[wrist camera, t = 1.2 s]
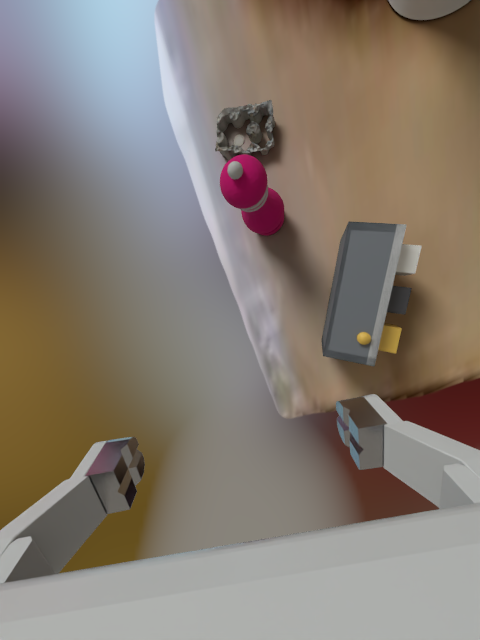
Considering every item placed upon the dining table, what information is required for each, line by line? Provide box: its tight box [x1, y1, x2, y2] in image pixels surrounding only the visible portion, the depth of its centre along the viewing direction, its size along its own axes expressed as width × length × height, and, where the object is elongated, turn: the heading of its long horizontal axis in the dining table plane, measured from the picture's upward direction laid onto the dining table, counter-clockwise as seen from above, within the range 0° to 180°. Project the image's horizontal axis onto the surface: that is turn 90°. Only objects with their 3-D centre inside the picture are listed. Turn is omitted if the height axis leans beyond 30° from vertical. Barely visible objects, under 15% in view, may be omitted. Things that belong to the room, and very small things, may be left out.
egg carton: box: [215, 100, 275, 161], centre depth 44 cm, size 11×8×4 cm
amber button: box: [378, 323, 402, 353], centre depth 36 cm, size 4×4×4 cm
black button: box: [387, 286, 411, 314], centre depth 35 cm, size 4×4×4 cm
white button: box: [395, 244, 422, 276], centre depth 34 cm, size 4×4×4 cm
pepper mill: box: [220, 154, 284, 236], centre depth 36 cm, size 7×7×20 cm
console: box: [322, 222, 406, 366], centre depth 37 cm, size 18×6×13 cm, turn 172°
